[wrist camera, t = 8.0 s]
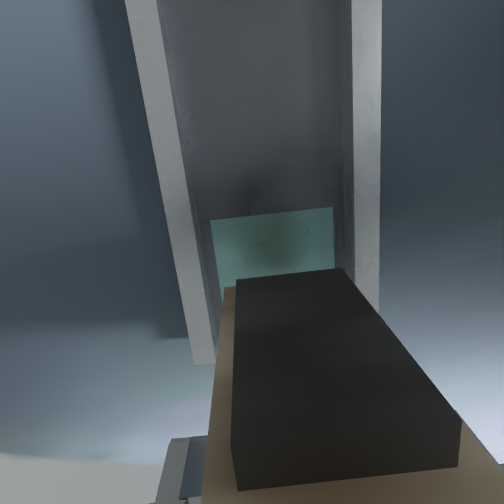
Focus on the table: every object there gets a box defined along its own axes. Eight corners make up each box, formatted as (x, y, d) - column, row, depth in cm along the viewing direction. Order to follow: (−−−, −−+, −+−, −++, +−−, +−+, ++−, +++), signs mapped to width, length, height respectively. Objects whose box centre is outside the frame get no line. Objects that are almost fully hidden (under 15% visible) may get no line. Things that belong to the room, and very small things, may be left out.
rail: (356, -366, 12) (603, -1462, 4) (361, 320, 21) (440, 442, 13) (81, -330, 13) (-263, -1324, 4) (200, 337, 21) (172, 470, 13)
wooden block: (344, 250, 11) (571, 490, 4) (349, 418, 13) (497, 798, 6) (221, 264, 11) (178, 534, 4) (245, 430, 13) (252, 825, 6)
